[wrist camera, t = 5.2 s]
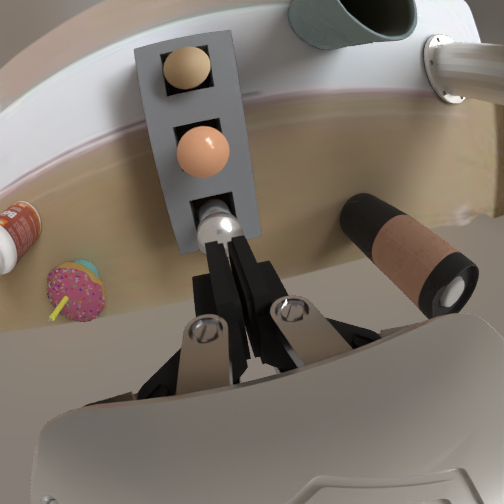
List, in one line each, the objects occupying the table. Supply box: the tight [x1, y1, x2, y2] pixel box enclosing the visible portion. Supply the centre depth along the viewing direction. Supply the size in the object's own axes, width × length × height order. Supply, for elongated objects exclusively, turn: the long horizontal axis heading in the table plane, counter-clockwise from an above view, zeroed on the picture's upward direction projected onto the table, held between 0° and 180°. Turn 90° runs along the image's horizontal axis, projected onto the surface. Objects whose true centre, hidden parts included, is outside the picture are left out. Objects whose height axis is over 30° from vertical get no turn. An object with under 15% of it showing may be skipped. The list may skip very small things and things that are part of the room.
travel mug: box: [340, 193, 479, 319], centre depth 29 cm, size 8×8×20 cm
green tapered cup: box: [288, 0, 417, 50], centre depth 18 cm, size 10×10×12 cm
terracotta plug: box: [177, 126, 230, 178], centre depth 22 cm, size 4×4×6 cm
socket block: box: [134, 30, 262, 255], centre depth 26 cm, size 9×22×5 cm, turn 8°
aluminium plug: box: [197, 199, 244, 258], centre depth 26 cm, size 4×4×6 cm
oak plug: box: [163, 46, 210, 89], centre depth 21 cm, size 4×4×6 cm
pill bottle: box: [0, 201, 41, 276], centre depth 22 cm, size 6×6×11 cm
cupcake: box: [47, 259, 106, 322], centre depth 27 cm, size 9×8×12 cm
